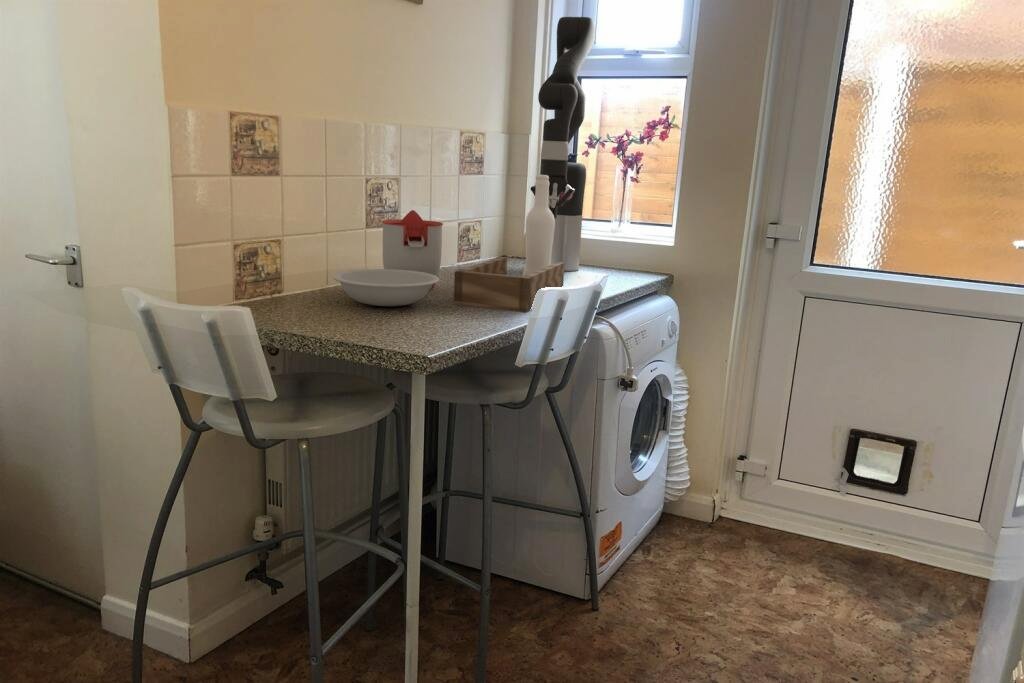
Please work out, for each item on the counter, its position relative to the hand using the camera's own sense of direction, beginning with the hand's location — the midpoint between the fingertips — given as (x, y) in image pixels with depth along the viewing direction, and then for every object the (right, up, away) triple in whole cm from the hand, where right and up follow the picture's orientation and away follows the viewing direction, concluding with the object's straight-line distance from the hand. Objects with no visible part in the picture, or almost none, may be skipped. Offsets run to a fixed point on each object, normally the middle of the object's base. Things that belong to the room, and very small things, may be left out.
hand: (550, 220), depth 227 cm
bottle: (-4, -19, -6) cm, 20 cm away
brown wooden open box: (-11, -23, -26) cm, 37 cm away
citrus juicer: (-37, -20, -19) cm, 46 cm away
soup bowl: (-40, -26, -43) cm, 64 cm away
